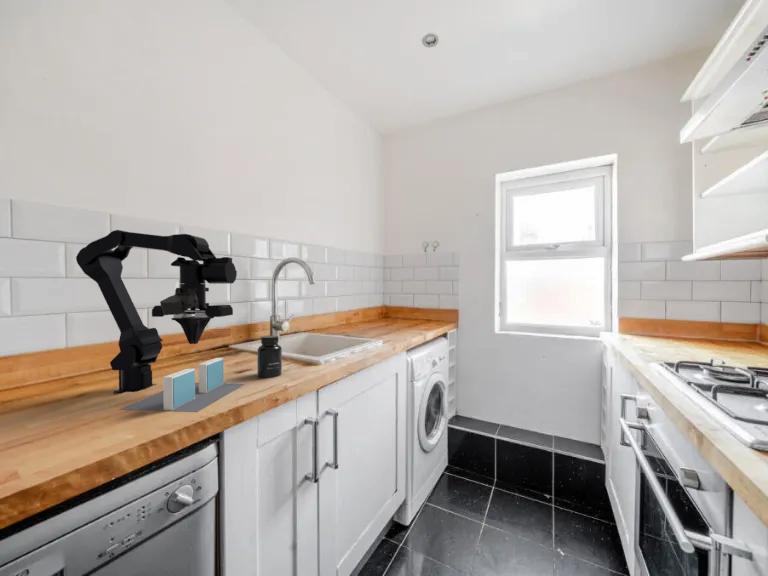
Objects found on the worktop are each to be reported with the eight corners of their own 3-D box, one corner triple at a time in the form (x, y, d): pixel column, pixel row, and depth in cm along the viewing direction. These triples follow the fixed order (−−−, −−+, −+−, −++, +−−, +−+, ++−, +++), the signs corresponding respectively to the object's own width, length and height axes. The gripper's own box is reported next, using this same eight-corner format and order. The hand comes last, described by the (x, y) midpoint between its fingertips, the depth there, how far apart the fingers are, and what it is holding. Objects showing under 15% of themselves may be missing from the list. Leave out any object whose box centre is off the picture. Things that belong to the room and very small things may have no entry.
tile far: (198, 392, 78) (198, 364, 78) (216, 383, 85) (216, 357, 85) (207, 392, 78) (206, 364, 78) (224, 384, 85) (223, 358, 85)
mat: (118, 412, 67) (118, 409, 67) (183, 384, 86) (183, 382, 86) (197, 414, 66) (197, 411, 66) (245, 386, 85) (245, 383, 85)
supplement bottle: (274, 380, 89) (273, 338, 89) (252, 379, 91) (252, 338, 91) (286, 374, 96) (285, 335, 96) (266, 373, 97) (265, 334, 97)
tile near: (163, 409, 67) (163, 377, 67) (187, 398, 74) (186, 368, 74) (173, 410, 67) (172, 377, 67) (195, 398, 74) (195, 368, 74)
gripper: (132, 283, 75) (132, 349, 75) (206, 283, 73) (206, 350, 73) (168, 284, 86) (169, 341, 86) (233, 283, 84) (234, 342, 84)
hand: (193, 343), depth 82 cm, fingers closed
